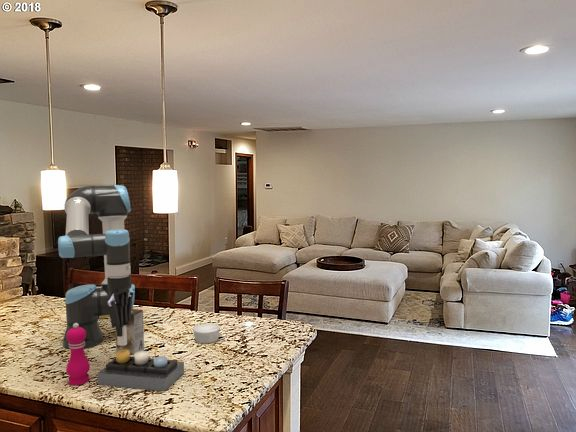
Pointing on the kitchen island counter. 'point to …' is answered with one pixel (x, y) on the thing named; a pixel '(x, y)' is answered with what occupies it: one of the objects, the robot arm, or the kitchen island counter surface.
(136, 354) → the cream rounded cylinder
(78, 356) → the pepper mill
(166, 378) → the button console
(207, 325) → the ramekin
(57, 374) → the kitchen island counter surface
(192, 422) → the kitchen island counter surface
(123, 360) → the amber button
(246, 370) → the kitchen island counter surface
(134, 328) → the coffee box
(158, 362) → the blue button
